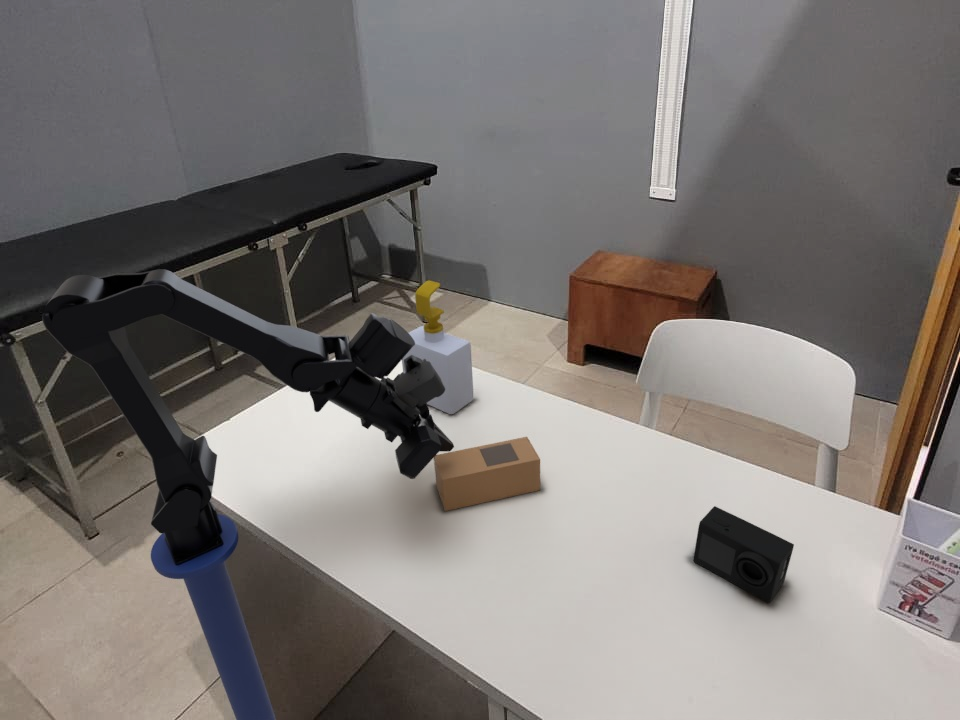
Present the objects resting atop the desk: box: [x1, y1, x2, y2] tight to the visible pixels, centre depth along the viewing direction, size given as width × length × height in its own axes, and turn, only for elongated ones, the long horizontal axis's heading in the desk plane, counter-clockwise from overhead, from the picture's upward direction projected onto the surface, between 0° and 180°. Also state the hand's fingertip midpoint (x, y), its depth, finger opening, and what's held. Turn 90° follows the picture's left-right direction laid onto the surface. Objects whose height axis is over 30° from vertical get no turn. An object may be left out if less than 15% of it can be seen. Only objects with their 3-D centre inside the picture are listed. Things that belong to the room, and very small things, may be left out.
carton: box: [433, 436, 541, 512], centre depth 99 cm, size 6×6×15 cm
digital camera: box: [692, 505, 795, 604], centre depth 82 cm, size 10×5×7 cm, turn 46°
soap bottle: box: [401, 279, 474, 415], centre depth 118 cm, size 12×7×23 cm, turn 51°
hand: (451, 447), depth 95 cm, fingers closed
